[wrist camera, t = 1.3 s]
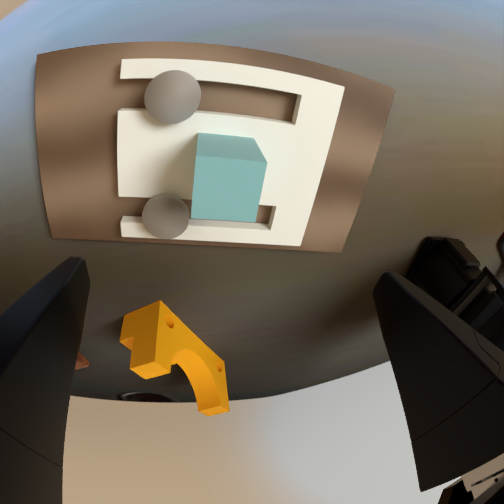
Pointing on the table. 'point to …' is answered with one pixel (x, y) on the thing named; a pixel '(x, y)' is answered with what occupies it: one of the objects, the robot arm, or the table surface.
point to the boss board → (95, 136)
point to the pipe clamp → (174, 354)
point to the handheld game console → (502, 245)
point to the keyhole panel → (275, 139)
